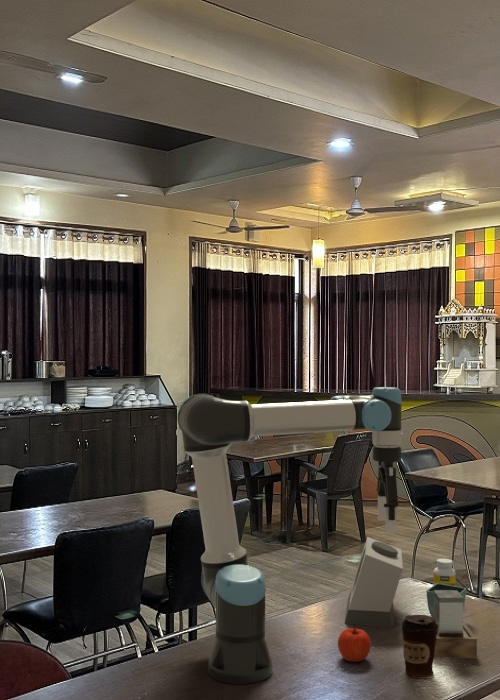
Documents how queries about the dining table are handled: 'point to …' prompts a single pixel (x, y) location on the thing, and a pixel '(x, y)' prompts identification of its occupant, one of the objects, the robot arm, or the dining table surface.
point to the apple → (354, 644)
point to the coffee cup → (419, 645)
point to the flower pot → (441, 587)
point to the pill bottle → (445, 572)
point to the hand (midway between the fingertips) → (386, 526)
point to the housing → (448, 613)
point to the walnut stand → (457, 645)
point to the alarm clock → (375, 585)
